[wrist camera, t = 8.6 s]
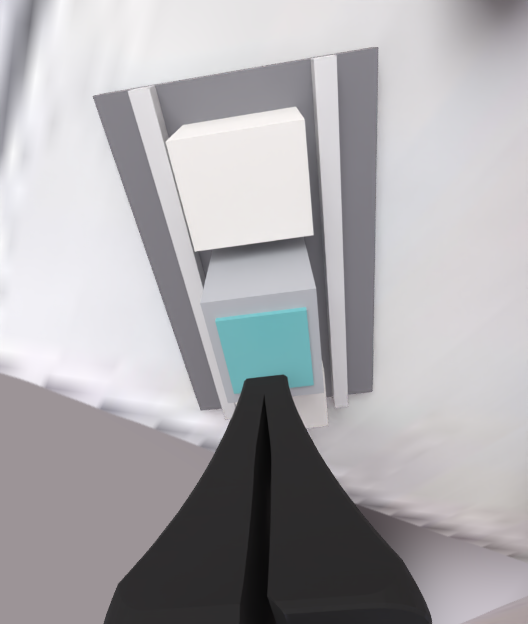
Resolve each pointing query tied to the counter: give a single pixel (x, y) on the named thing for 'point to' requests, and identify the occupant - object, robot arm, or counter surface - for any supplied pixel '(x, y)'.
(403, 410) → the counter surface
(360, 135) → the rail board
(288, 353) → the module
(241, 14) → the counter surface
